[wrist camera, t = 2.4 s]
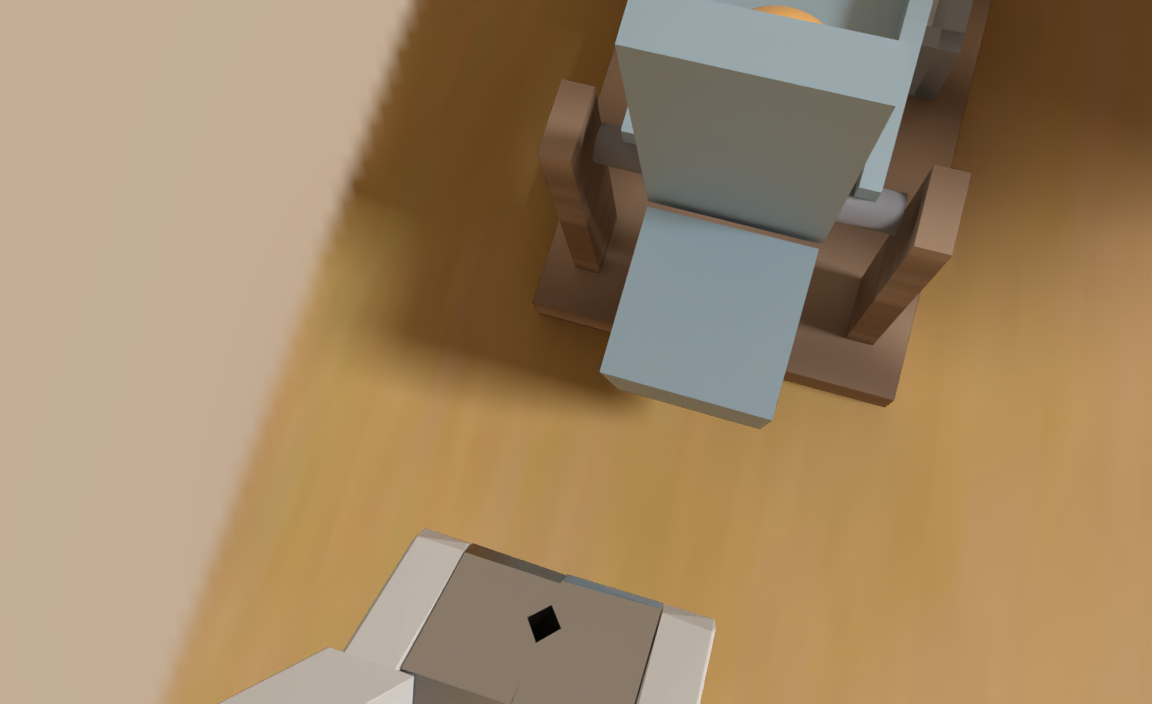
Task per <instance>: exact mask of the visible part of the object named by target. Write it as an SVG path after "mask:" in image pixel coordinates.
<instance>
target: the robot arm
mask: <svg viewBox="0 0 1152 704" xmlns="http://www.w3.org/2000/svg"><path fill="white" fill-rule="evenodd" d="M662 607H663V603H661V602H658V601H654V600H651V599H648V598H644V597H641V596H638V595H634V594H631V593H628V592H625V591H621V590H618V589H615V588H611V587H608V586H605V585H601V584H598V583H595V582H591V581H588V580H585V579H582V578H578V577H575V576H572V575H568V574H567V575H564V574H561V573H558V572H555V571H552V570H549V569H546V568H544V567H541V566H538V565H535V564H532V563H529V562H526V561H523V560H520V559H517V558H514V557H511V556H509V555H506V554H503V553H500V552H497V551H494V550H491V549H488V548H485V547H482V546H479V545H476V544H474V543H473V544H471V543H468V542H466V541H463V540H460V539H457V538H454V537H451V536H448V535H445V534H442V533H439V532H436V531H433V530H430V529H427V528H425V529H424V530H423V531H422V532H421V533H419V534H418V535H417V536H416V537H415V538H414V539H413V540H412V542H411V544H410V545H409V547H408V548H407V550H406V552H405V553H404V555H403V556H402V558H401V559H400V561H399V563H398V564H397V566H396V567H395V569H394V571H393V572H392V574H391V575H390V577H389V579H388V580H387V582H386V583H385V585H384V587H383V588H382V590H381V591H380V593H379V594H378V596H377V598H376V599H375V601H374V602H373V604H372V606H371V607H370V609H369V610H368V612H367V614H366V615H365V617H364V618H363V620H362V622H361V623H360V625H359V626H358V628H357V629H356V631H355V633H354V634H353V636H352V637H351V639H350V641H349V642H348V644H347V645H346V647H345V649H344V650H343V651H341V650H338V649H335V648H332V647H327V648H325V649H323V650H321V651H319V652H317V653H315V654H313V655H311V656H309V657H308V658H306V659H304V660H302V661H300V662H298V663H296V664H294V665H292V666H290V667H288V668H286V669H284V670H282V671H280V672H278V673H277V674H275V675H273V676H271V677H269V678H267V679H265V680H263V681H261V682H259V683H257V684H255V685H253V686H251V687H249V688H247V689H246V690H244V691H242V692H240V693H238V694H236V695H234V696H232V697H230V698H228V699H226V700H224V701H222V702H220V703H218V704H700V701H701V696H702V691H703V686H704V682H705V677H706V672H707V668H708V663H709V658H710V653H711V649H712V644H713V639H714V635H715V630H716V627H715V621H714V619H711V618H708V617H705V616H702V615H698V614H695V613H692V612H689V611H685V610H682V609H679V608H676V607H672V606H669V605H666V604H665V605H664V607H663V609H662ZM661 611H662V613H661ZM660 615H661V616H660ZM659 619H660V620H659ZM658 622H659V624H658ZM657 626H658V627H657ZM656 630H657V631H656ZM654 637H655V638H654ZM653 641H654V642H653Z"/></svg>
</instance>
